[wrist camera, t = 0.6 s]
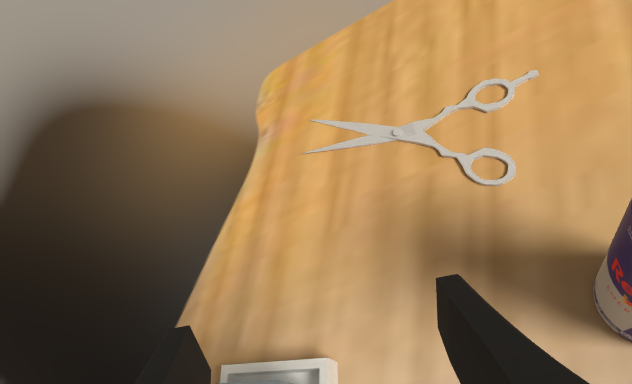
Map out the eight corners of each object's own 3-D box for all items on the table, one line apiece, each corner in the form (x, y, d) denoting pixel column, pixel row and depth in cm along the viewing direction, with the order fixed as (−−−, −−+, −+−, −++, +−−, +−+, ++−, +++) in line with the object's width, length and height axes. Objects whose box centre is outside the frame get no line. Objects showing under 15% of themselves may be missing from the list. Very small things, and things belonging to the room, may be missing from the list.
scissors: (539, 184, 29) (288, 182, 38) (538, 189, 30) (291, 186, 38) (538, 69, 34) (314, 91, 42) (537, 76, 34) (317, 96, 43)
